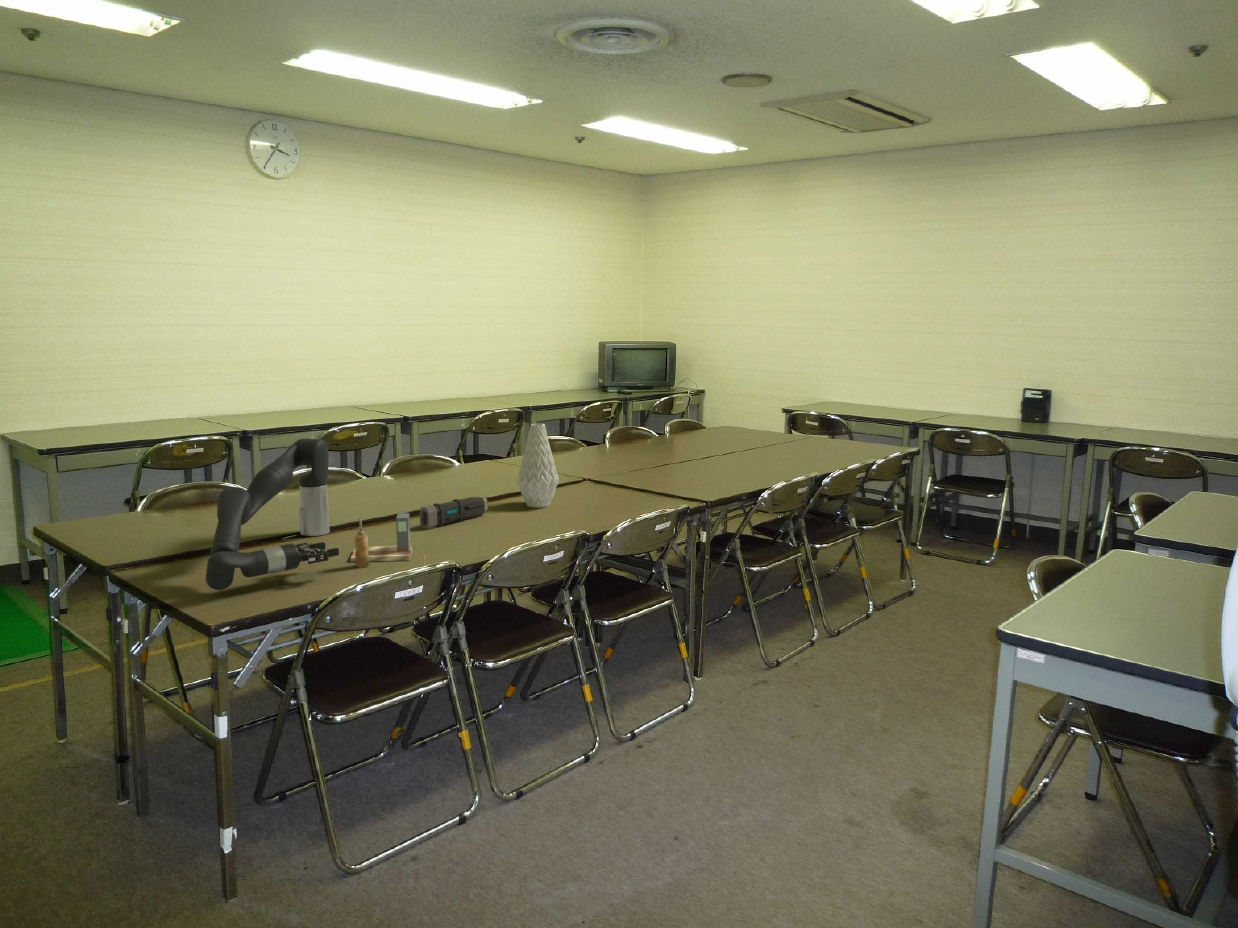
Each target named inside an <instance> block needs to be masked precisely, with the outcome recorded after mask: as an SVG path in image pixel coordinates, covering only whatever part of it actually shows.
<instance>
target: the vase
mask: <svg viewBox="0 0 1238 928" xmlns="http://www.w3.org/2000/svg"><path fill="white" fill-rule="evenodd" d="M528 430H529V432H528V435H527V439H526V444H525V448H524V450H523V451H524V452H523V455H522V459H521V464H520V468H519V471H518V476H517V480H516V484H517V485H518V486H519V490H520V493H521V497H522V498H523V500H524V502H525V504H526V506H527V507H529V508H535V509H536V508H545V507H548V506H550V504H551V501H552V500H553V498H554V495H555V493H556V491H557V487H558V485H559V483H560V480H559V474H558V472H557V469H556V468H557V467H556V465H555V459H554V457H553V452H552V449H551V445H550V442H549V437H548V432H547V431H548V430H547V429H546V424H544V423H531V424H530V427H529V429H528Z"/></svg>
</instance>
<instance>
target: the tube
mask: <svg viewBox="0 0 1238 928" xmlns="http://www.w3.org/2000/svg"><path fill="white" fill-rule="evenodd" d="M488 506H489V504H488V499H487V497H484V496H483V497H482V496H481V497H480V496H470V497H465V498H460V499H459V498H454V499H453V500H452V501H451V500H450V501H447V502H442V503H438V502H437V503H433V505H430V504H429V505H424V506H421V507H420V510H419V523H420V527H421V529H424V530H431V529H435V528H436V527H440V528H441V527H443V526H444V525H449V524H452V523H453V524H454V523H461V522H464V521H465V520H468V519H473V518H476V517H479V516H482V515H483V514H484V513H485V512H487V511H488V510H489V507H488Z"/></svg>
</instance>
